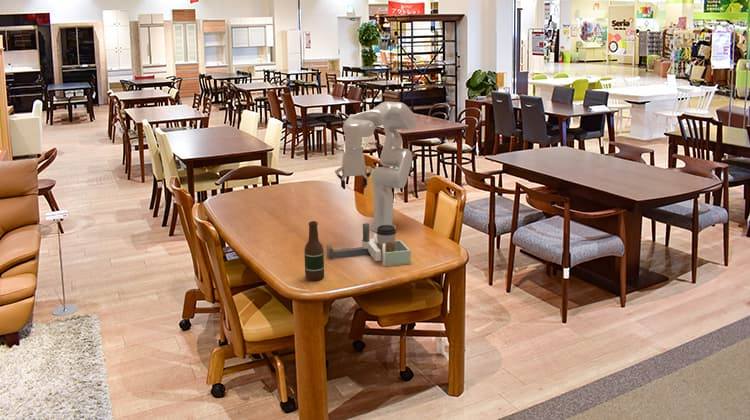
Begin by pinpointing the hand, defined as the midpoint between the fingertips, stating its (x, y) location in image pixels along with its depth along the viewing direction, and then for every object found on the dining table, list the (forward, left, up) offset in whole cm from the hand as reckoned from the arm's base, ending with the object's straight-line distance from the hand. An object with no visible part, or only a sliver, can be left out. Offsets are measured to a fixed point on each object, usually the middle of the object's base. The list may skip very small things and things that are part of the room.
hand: (354, 187), depth 316 cm
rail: (+11, -1, -28) cm, 30 cm away
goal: (+21, +11, -28) cm, 37 cm away
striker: (+18, +4, -26) cm, 32 cm away
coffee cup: (+21, +9, -28) cm, 37 cm away
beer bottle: (+33, -25, -28) cm, 50 cm away
